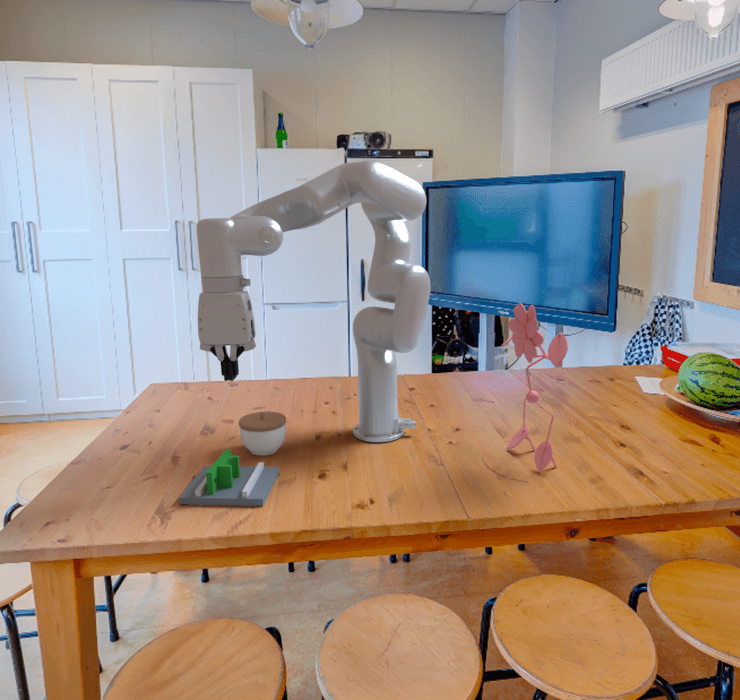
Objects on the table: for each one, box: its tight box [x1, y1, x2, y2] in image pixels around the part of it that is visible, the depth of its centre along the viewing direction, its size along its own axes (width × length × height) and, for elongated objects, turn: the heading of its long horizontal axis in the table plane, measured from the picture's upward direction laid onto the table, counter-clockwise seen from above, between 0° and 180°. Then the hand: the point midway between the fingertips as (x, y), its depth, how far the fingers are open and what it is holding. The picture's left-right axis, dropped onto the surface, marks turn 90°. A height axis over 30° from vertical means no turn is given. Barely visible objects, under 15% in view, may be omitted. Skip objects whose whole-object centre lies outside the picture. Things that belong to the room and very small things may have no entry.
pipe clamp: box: [206, 448, 240, 495], centre depth 114 cm, size 11×4×5 cm, turn 175°
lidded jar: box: [238, 411, 287, 457], centre depth 132 cm, size 11×11×9 cm
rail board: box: [178, 461, 280, 507], centre depth 115 cm, size 16×14×3 cm
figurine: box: [483, 302, 569, 483], centre depth 121 cm, size 15×26×35 cm, turn 13°
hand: (230, 378), depth 112 cm, fingers closed
